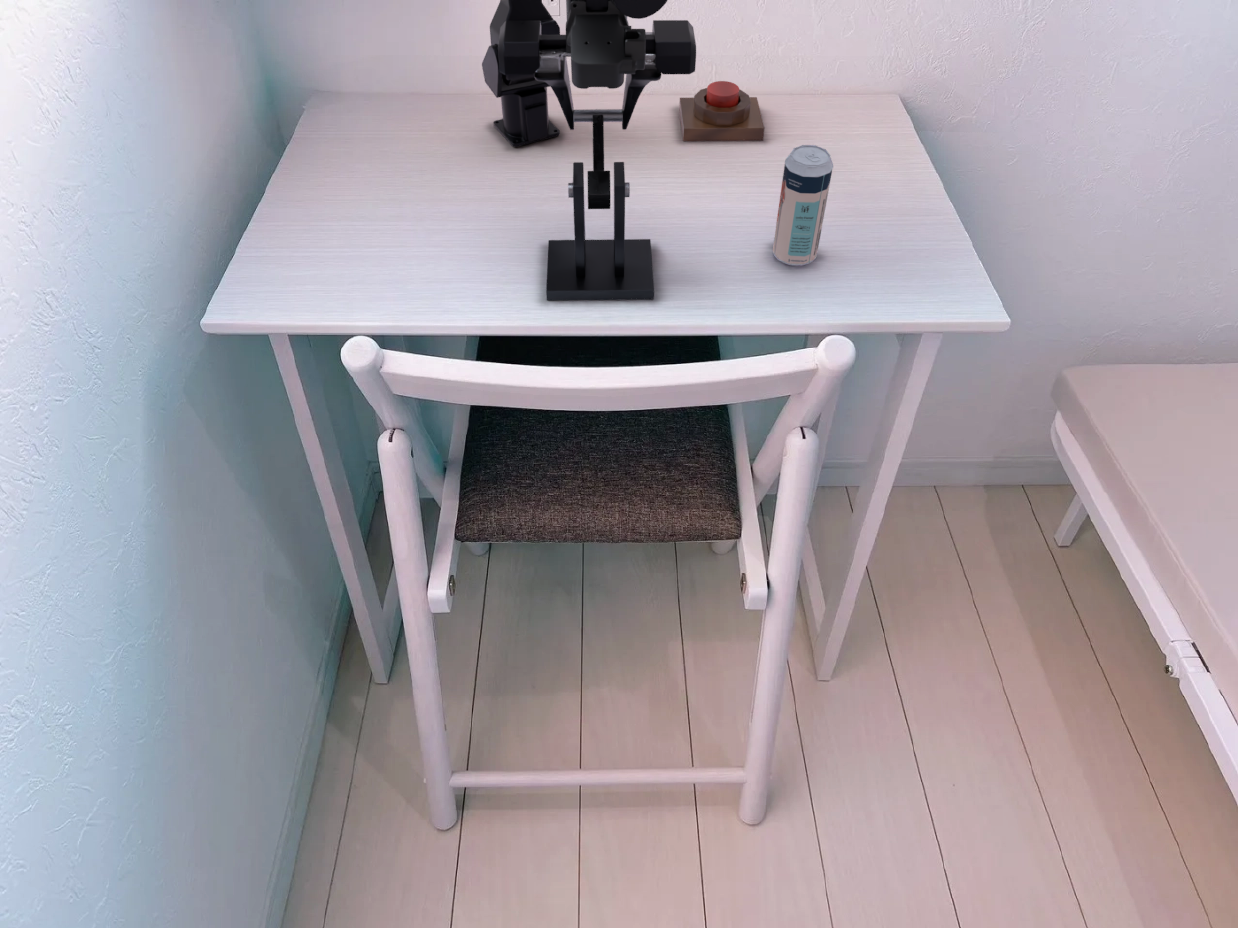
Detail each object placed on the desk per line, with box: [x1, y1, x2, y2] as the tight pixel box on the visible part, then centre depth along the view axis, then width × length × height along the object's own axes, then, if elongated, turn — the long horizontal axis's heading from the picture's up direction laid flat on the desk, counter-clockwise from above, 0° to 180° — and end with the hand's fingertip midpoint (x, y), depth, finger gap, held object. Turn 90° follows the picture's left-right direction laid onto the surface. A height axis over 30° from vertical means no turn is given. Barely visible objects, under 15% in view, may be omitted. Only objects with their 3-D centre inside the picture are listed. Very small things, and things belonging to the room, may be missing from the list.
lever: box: [573, 108, 623, 210], centre depth 98 cm, size 11×5×2 cm, turn 2°
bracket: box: [545, 161, 655, 301], centre depth 99 cm, size 9×11×12 cm
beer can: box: [772, 144, 834, 267], centre depth 101 cm, size 5×5×12 cm
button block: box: [678, 87, 765, 142], centre depth 124 cm, size 10×8×4 cm
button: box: [706, 80, 740, 108], centre depth 122 cm, size 4×4×2 cm
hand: (597, 127), depth 101 cm, fingers closed on lever, 5 cm apart
